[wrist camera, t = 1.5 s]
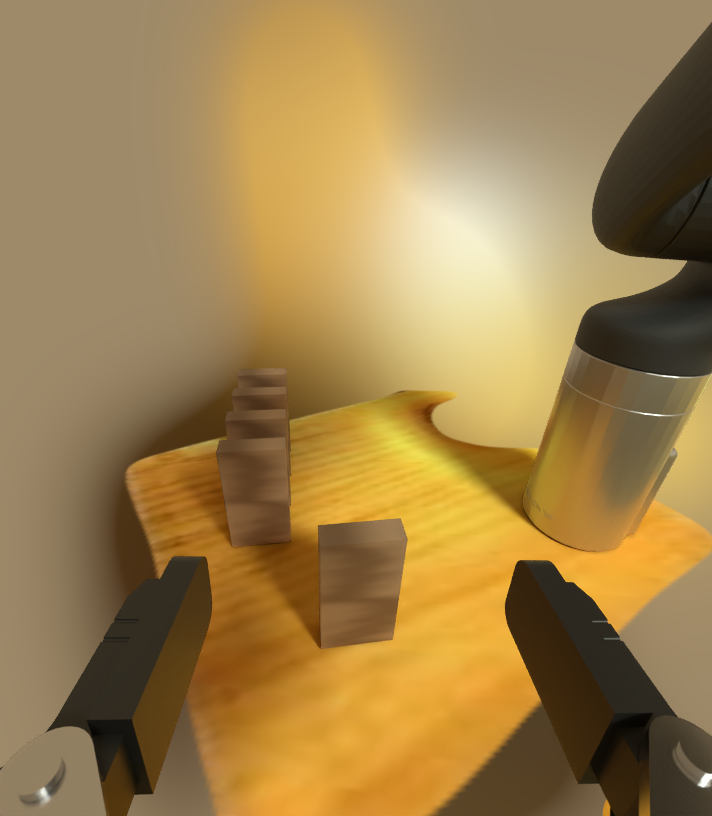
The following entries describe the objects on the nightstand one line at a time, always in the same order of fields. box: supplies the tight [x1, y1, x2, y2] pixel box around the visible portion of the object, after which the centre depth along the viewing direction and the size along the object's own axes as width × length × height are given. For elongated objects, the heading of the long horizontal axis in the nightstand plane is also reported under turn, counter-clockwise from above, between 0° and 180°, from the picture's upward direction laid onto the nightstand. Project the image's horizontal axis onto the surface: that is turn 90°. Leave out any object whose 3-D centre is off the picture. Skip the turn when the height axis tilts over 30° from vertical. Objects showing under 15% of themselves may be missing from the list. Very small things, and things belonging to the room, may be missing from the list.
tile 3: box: [225, 409, 291, 506], centre depth 36 cm, size 5×2×10 cm, turn 99°
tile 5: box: [237, 368, 290, 448], centre depth 44 cm, size 5×2×10 cm, turn 99°
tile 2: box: [216, 437, 291, 547], centre depth 32 cm, size 5×2×10 cm, turn 98°
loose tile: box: [318, 518, 407, 649], centre depth 25 cm, size 5×2×10 cm, turn 99°
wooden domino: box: [232, 387, 291, 476], centre depth 40 cm, size 5×2×10 cm, turn 99°
